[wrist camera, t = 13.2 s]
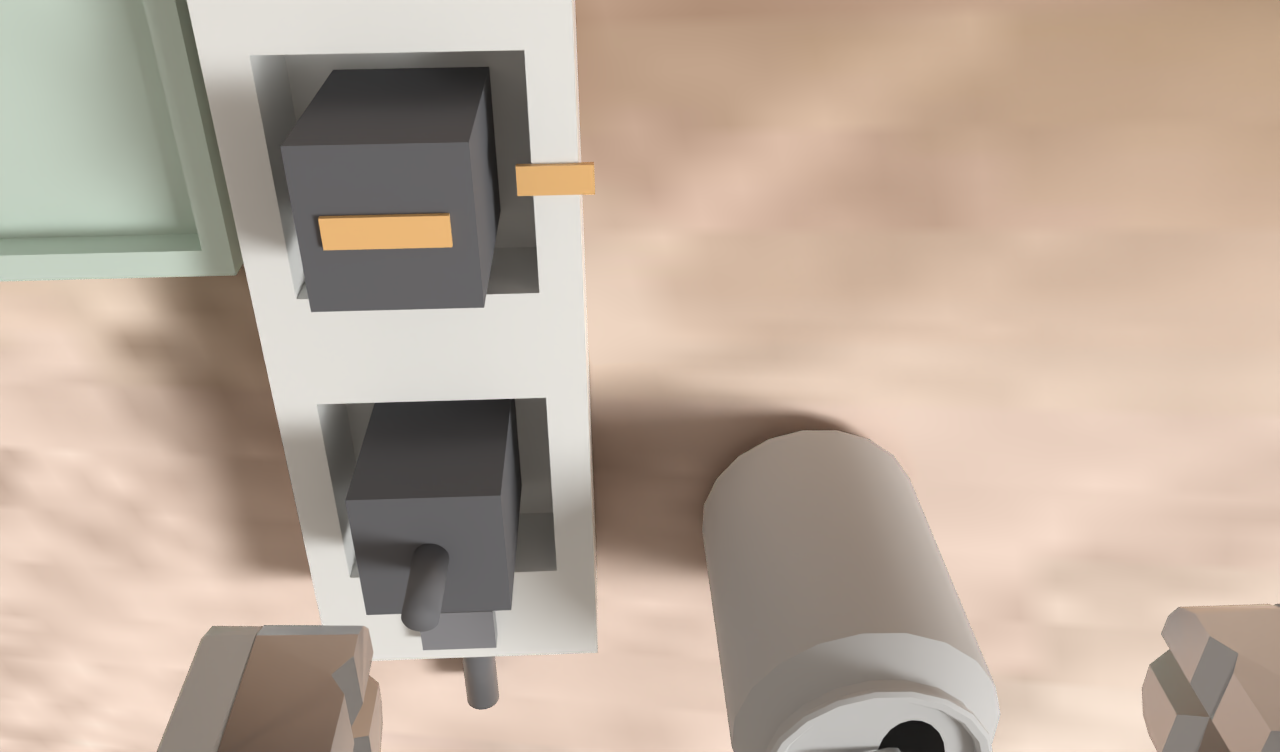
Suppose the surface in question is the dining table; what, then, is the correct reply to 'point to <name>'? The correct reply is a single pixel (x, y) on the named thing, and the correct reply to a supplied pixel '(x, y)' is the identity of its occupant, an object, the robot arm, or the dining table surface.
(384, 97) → the dark grey block
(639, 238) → the dining table surface
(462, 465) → the twin plug
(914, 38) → the dining table surface
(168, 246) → the tray
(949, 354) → the dining table surface
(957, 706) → the can
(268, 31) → the white power strip
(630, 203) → the dining table surface
